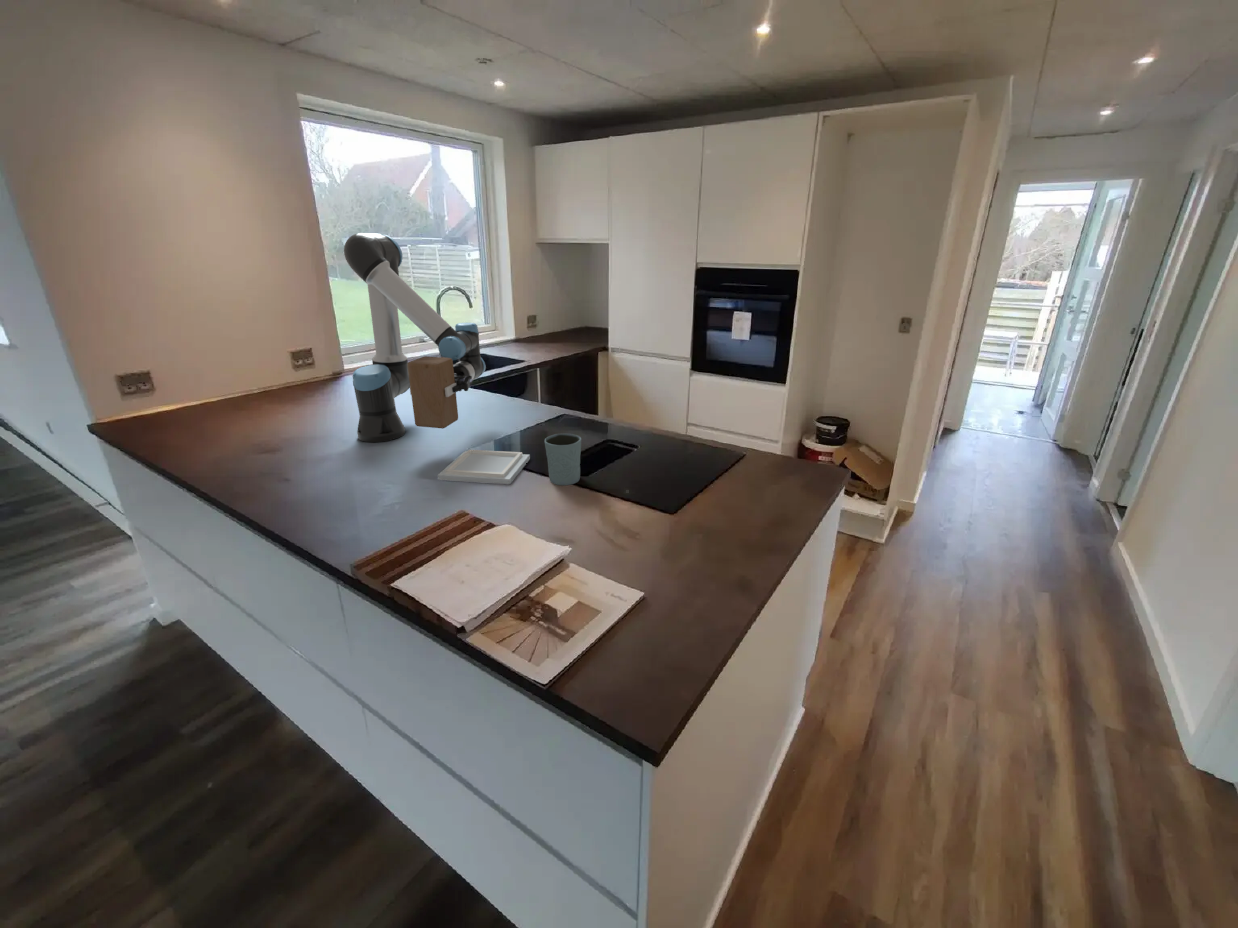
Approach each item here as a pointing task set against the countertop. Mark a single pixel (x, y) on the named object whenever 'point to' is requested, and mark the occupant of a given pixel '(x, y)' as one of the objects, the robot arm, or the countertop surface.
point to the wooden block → (432, 391)
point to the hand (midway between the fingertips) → (428, 391)
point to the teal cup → (563, 458)
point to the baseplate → (485, 467)
